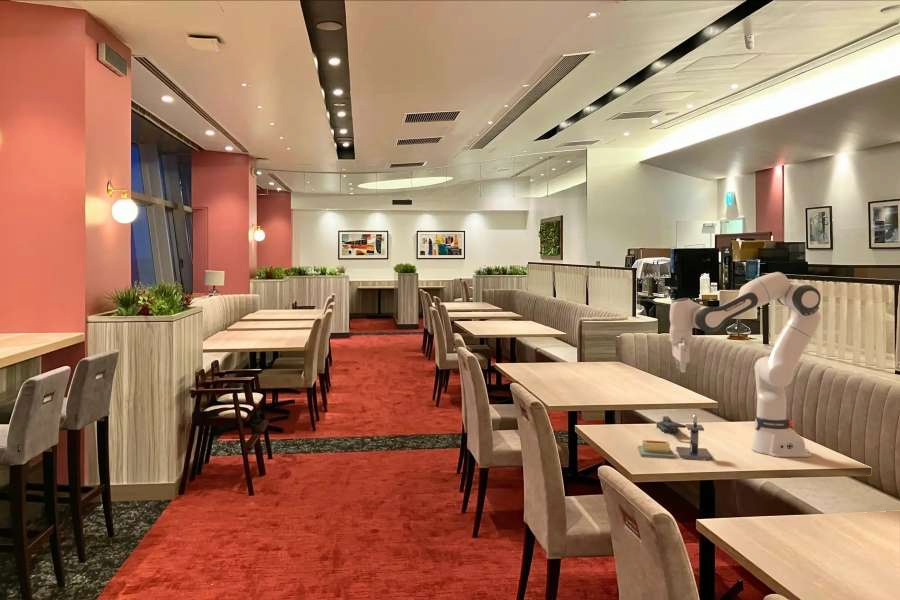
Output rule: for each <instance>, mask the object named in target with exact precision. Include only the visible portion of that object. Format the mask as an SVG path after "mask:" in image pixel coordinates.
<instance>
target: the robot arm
mask: <svg viewBox="0 0 900 600" xmlns="http://www.w3.org/2000/svg"><path fill="white" fill-rule="evenodd" d="M821 297H822V296H821V293H820V291H819V290H818V289H817V288H816V287H815V286H813V285H809V284H806V283H803V282H795V281H790V280H789V279H788V277H787V276H786V275H785V274H784V273H783V272H780V271H775V272H771V273H768V274H764V275H761V276H759V277H756V278H755V279H752V280H750V281H748V282H747V283H745V284H743V285H742V286H741V287H740V289H739V291H738V296H736V298H734V299H732V300H730V301H728V302H725V303H724V304H722V305H720V306H706V305H703V304H699V303H697V302H696V301H695V302H694V300H692V299H691V298H690V297H683V298H677V299H674V300H672V302H671V303H670V307H669V322H670V326H669V342H671V343H670V344H671V352H672V356H673V357H674V359H675V363H676V364H675V365H676V369H677V370H679V371H680V373H686V367H687V364H688V363H690V360H691V359H690V355H691V354H690V343H692V342H693V329H694V328H696V329H699V330H701V331H703V332H704V333H710V334H711V333H714V332H717V331H718V330H720V329H721V328H722V327H723V325H724V324H726V323H727V322H728V321H729V320H731V319H733V318H735V317H737V316H739V315H741V314H743V313H745V312H747V311H750V310H753V309H756V308H758V307H762V306H764V305H767V304H770V303H771V302H773V301H776V300H777V301H778V303H779V304H781V305H782V306H784V307H787V308H788V309H790V310H791V313H790V317H789V318H788V320H787V322H786V323H785V325H784V326H783V328H782V330H781V331H780V333H779V335H778V336H777V337H776V339H775V342H774V347H773V348H772V351H771V354H770V356H763V357H760V358H758V359H757V360H756V362H755V363H754V366H753V367H754V373H755V374H754V375H755V387H756V399H757V403H756V415H755V419H754V430H755V431H754V436H753V437H754V438H753V442H752V445H751V450H752V451H755V452H757V453H761V454H764V455H768V456H772V457H779V458H787V457H788V458H790V457H791V458H792V457H793V458H810V457H812V452H811V451H810V450H809V449H808V448H806V444H805V440H804V438H803V437H802V436H801V435H800V434H798V433H797V431H795V430H794V429H793V428H791V427H794V426H795V424H796V423H795V421H793V420H790V419H788V418H787V397H786V392H785V387H787V386H789V385H790V384H791V383H792V382H793V381H794V374H795V371H796V369H797V366H798V364H799V361H800V359H801V357H802V354H803V353H804V351H805V349H806V348H807V346H808V345H809V342H811V340H812V338H813V337H814V335H815V333H816V331H817V329H818V327H819V324H820V322H821V318H822V317H821V314H820V312H819V311H818V310H819V308H820V304H821V300H822V299H821Z"/></svg>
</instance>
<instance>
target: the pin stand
mask: <svg viewBox="0 0 900 600" xmlns="http://www.w3.org/2000/svg"><path fill="white" fill-rule="evenodd" d="M685 425H686V429H687V430H688V431H690V438H689V439H690V440H689V441H690V443H689V447H687V446H685V447H684V446H683V447H682V446H675V447H676V448H675V451H676V452H677V454H678V456H679V457H680V459H681V458H686V459H685V460H697V459H705V460H704V461H713V455H712V454H711V453H710V451H709V450H708V449H707V448H704V447H703V448H702V447H701V448H700V447H699V431H700V432H704V431H705V428H704V427H703V425H702V424H698V415H697V414H693V416H692V424H690V423H686V424H685Z"/></svg>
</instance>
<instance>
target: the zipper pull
mask: <svg viewBox="0 0 900 600" xmlns="http://www.w3.org/2000/svg"><path fill="white" fill-rule="evenodd" d="M658 428H659V429H660V430H661V431H660V430H659V429H658ZM679 428H680V429H681V428H682V429H685V428H686V429H687V427H686V424H683V423H682V424H681V423H680V422H675V421H672V419H671V418H670V417H669V416H668V415H667V416H666V415H664V416H662V420H661V421H657V423H656V429H658V430H659V431H660V432H661V433H663V432H664V433H663V434H666V433H669V434H668V435H676V434H675V433H678V434H679V432H680V431H679Z"/></svg>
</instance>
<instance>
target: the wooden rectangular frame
mask: <svg viewBox="0 0 900 600" xmlns="http://www.w3.org/2000/svg"><path fill="white" fill-rule="evenodd" d="M642 446H643V451H644V452H660V453H669V447H670V443H669V441H667V440H654V439H651V440H649V439H642ZM670 448H671V447H670Z"/></svg>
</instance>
